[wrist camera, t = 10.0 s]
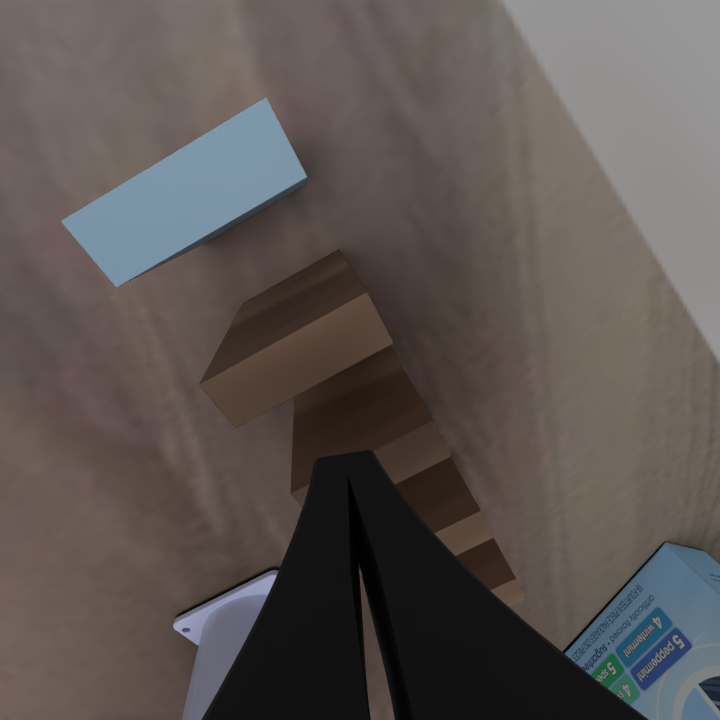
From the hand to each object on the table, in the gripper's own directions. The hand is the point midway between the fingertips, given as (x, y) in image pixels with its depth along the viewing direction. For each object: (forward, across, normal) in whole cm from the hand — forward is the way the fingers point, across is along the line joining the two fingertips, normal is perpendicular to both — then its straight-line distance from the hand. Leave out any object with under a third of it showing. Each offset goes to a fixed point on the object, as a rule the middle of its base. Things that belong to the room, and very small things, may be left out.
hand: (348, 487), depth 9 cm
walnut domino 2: (+10, -1, +2) cm, 10 cm away
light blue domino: (+10, +3, -7) cm, 13 cm away
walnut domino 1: (+10, +1, -2) cm, 11 cm away
